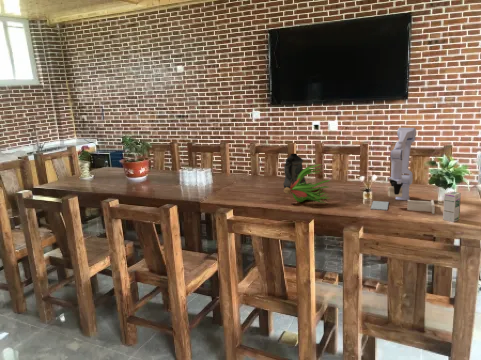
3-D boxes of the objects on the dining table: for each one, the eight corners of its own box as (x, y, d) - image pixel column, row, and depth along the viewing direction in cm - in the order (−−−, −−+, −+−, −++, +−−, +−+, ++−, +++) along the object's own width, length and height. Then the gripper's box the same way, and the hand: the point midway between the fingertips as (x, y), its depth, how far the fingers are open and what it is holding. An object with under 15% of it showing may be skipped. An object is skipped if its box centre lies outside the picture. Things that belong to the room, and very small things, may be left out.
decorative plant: (280, 207, 256) (322, 200, 263) (295, 210, 231) (341, 202, 239) (275, 168, 255) (317, 162, 262) (289, 167, 230) (335, 160, 238)
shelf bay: (407, 204, 233) (407, 198, 233) (433, 205, 228) (433, 200, 227) (407, 211, 219) (407, 205, 218) (434, 213, 214) (434, 207, 213)
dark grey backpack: (306, 185, 290) (306, 151, 285) (306, 191, 272) (306, 156, 266) (284, 185, 293) (283, 152, 288) (282, 191, 275) (281, 156, 269)
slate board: (373, 201, 241) (373, 200, 241) (388, 202, 238) (388, 201, 237) (370, 209, 227) (370, 208, 227) (387, 210, 223) (387, 209, 223)
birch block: (387, 194, 230) (387, 186, 229) (400, 194, 229) (400, 186, 228) (389, 196, 226) (389, 188, 225) (402, 196, 225) (402, 188, 224)
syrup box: (453, 222, 200) (456, 194, 197) (442, 219, 204) (444, 192, 201) (459, 219, 203) (461, 192, 200) (447, 217, 208) (449, 190, 205)
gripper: (386, 167, 232) (385, 190, 235) (392, 172, 218) (391, 196, 221) (398, 167, 231) (397, 190, 234) (405, 172, 217) (404, 196, 220)
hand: (395, 193), depth 227 cm, fingers closed on birch block, 4 cm apart
